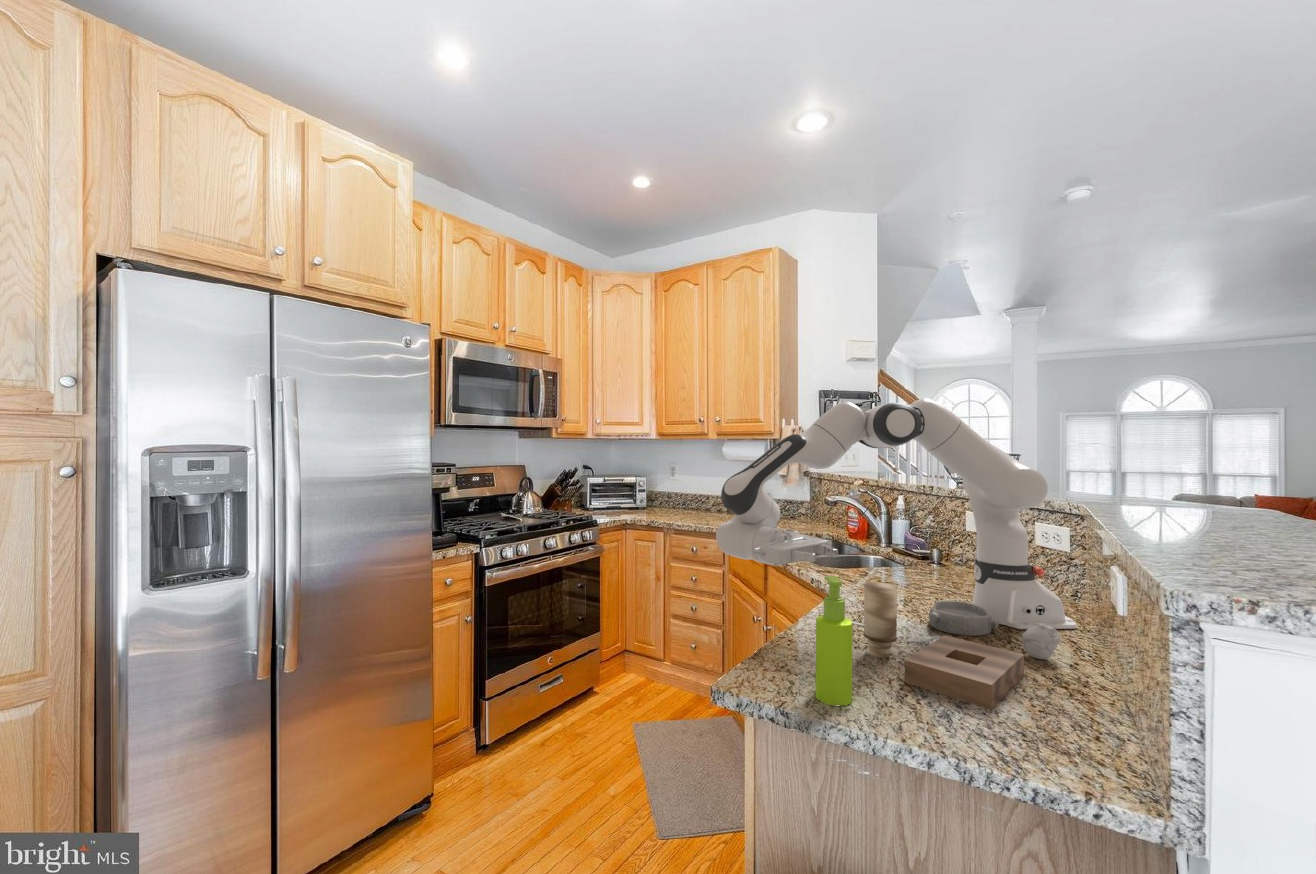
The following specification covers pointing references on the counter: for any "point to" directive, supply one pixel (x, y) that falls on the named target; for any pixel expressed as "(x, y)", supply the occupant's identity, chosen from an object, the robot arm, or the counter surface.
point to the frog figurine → (1041, 641)
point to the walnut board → (965, 670)
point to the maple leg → (880, 617)
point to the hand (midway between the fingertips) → (825, 555)
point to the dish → (961, 618)
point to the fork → (900, 635)
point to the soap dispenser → (834, 649)
